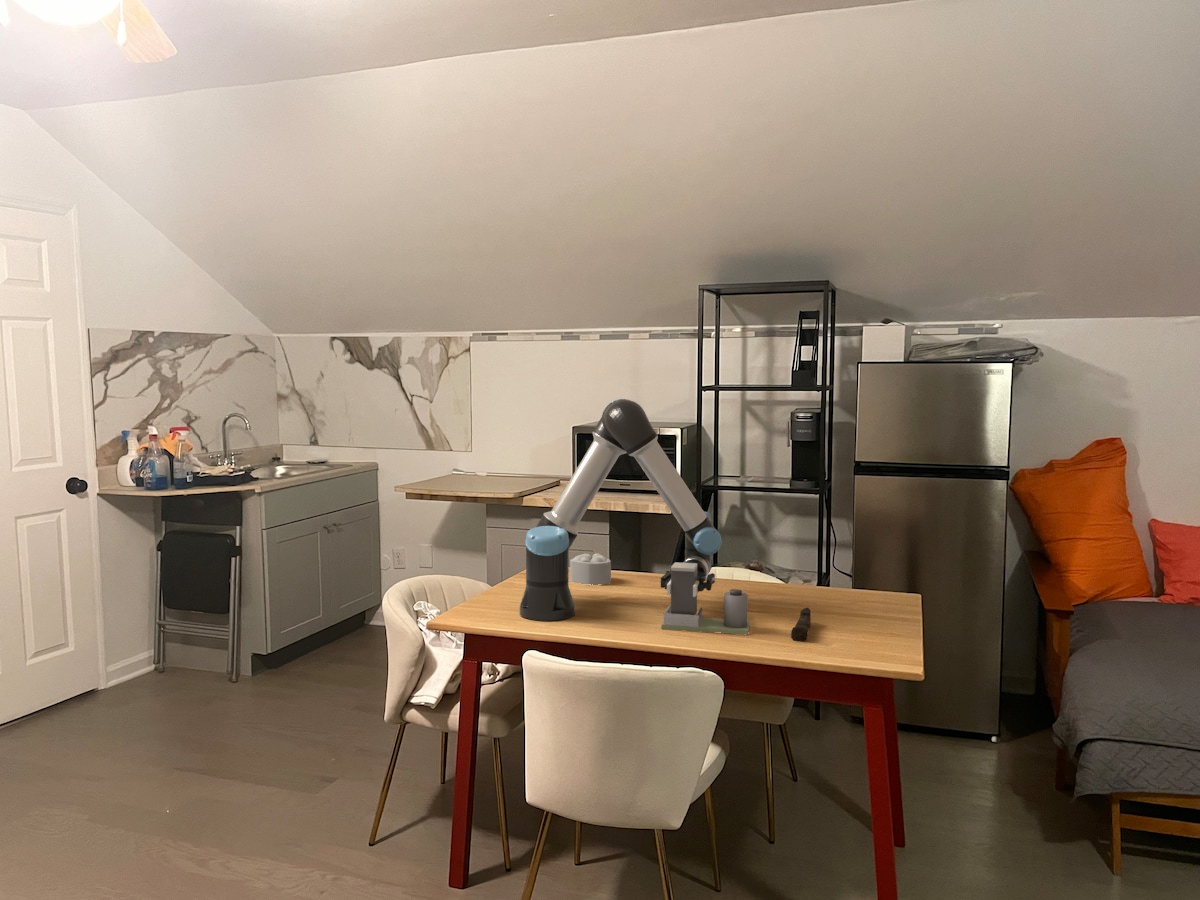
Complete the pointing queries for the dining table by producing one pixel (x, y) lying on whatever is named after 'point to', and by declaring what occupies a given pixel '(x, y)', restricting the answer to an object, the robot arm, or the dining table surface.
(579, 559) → the lumpy-topped squat cylinder
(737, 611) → the desk organizer stand
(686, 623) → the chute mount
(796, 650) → the dining table surface
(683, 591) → the grey block
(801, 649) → the dining table surface
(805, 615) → the hand tool
